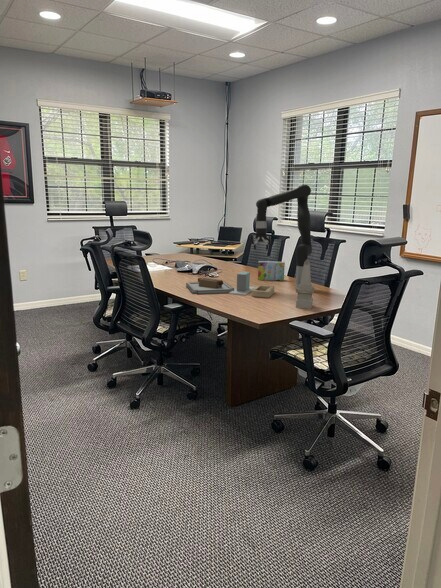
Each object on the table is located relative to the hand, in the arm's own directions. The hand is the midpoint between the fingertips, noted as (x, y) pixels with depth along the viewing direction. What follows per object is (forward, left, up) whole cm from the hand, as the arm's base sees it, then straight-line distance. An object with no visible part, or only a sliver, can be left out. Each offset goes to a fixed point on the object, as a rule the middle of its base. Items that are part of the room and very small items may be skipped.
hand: (261, 249), depth 318 cm
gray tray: (+33, +19, -29) cm, 48 cm away
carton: (-7, +19, -28) cm, 35 cm away
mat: (+9, +15, -28) cm, 33 cm away
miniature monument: (-39, +41, -29) cm, 64 cm away
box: (+8, +15, -27) cm, 33 cm away
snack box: (0, -35, -29) cm, 45 cm away
